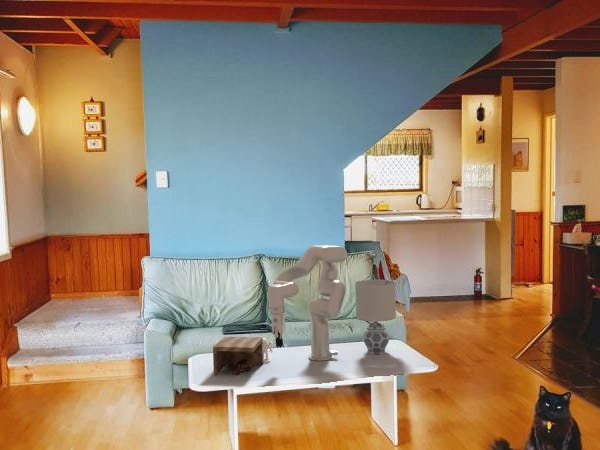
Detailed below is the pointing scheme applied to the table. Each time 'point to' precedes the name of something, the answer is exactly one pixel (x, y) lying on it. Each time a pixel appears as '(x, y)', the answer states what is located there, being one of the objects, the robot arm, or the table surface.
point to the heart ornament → (242, 366)
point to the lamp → (375, 311)
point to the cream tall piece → (266, 347)
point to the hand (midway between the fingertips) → (279, 346)
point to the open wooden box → (237, 351)
